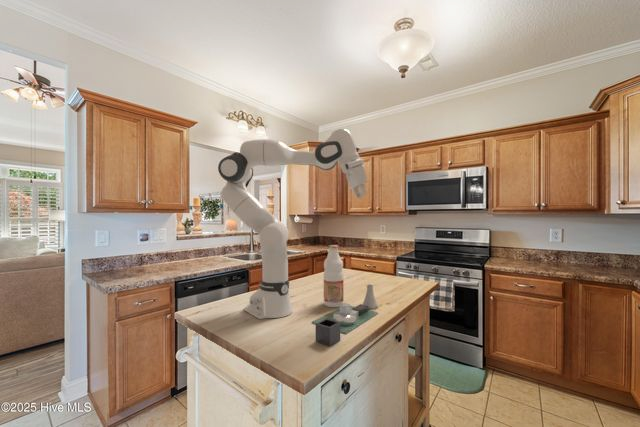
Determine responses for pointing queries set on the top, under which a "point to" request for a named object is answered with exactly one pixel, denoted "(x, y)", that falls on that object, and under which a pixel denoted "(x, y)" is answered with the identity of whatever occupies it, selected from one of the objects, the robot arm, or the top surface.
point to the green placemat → (349, 316)
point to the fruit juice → (333, 278)
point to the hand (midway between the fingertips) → (361, 196)
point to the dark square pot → (328, 332)
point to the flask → (370, 298)
